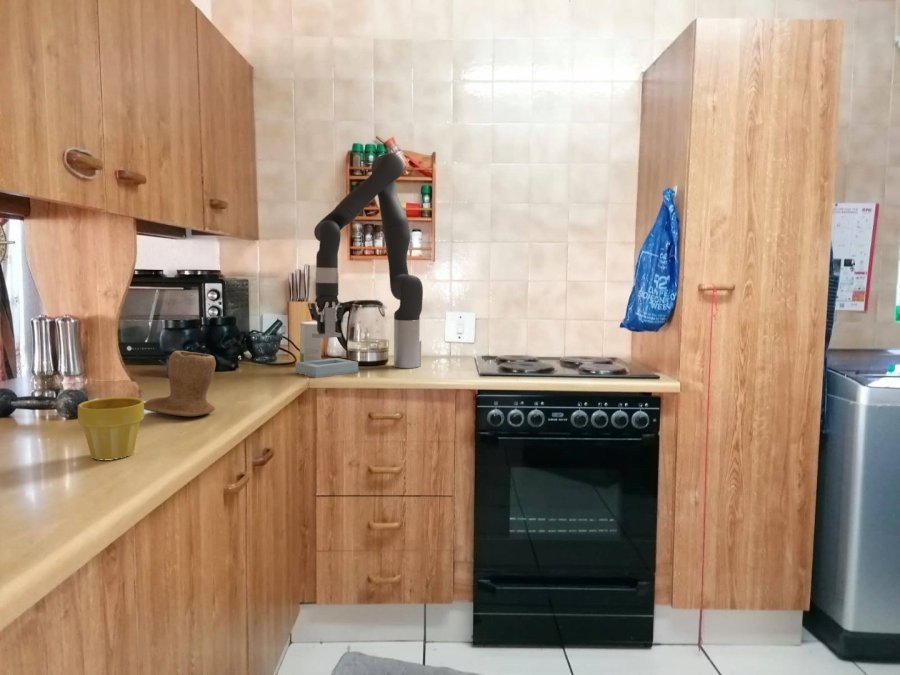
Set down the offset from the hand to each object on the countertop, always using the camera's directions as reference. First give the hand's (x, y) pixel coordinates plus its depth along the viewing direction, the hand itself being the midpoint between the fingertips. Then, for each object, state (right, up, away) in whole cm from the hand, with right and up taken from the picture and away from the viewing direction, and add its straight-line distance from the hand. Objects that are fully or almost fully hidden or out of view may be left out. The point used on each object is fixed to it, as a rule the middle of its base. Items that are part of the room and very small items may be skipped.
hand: (326, 332), depth 195 cm
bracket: (0, -1, 0) cm, 1 cm away
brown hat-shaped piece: (-21, -20, -58) cm, 65 cm away
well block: (0, -14, +2) cm, 14 cm away
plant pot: (-20, -23, -90) cm, 95 cm away
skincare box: (-10, -12, +19) cm, 24 cm away
